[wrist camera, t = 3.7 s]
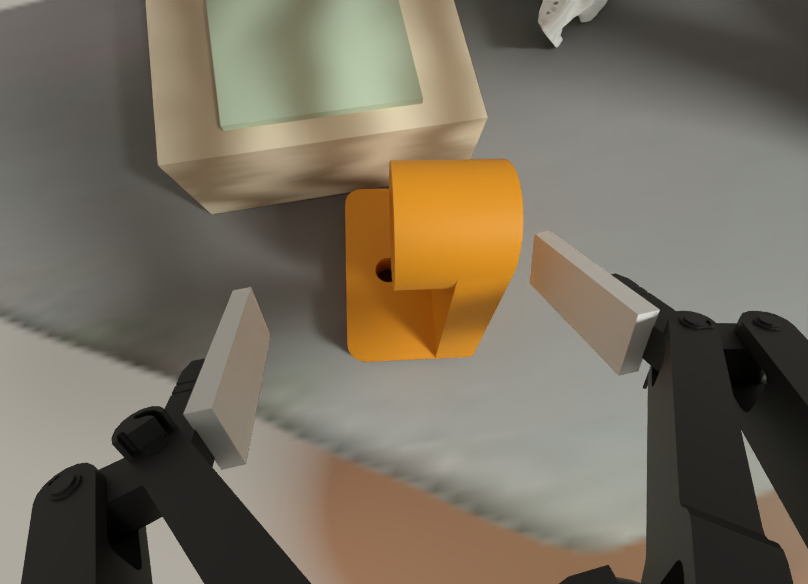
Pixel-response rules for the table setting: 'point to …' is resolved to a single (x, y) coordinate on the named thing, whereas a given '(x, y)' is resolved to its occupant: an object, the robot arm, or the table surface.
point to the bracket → (430, 257)
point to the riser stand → (306, 95)
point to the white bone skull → (565, 15)
